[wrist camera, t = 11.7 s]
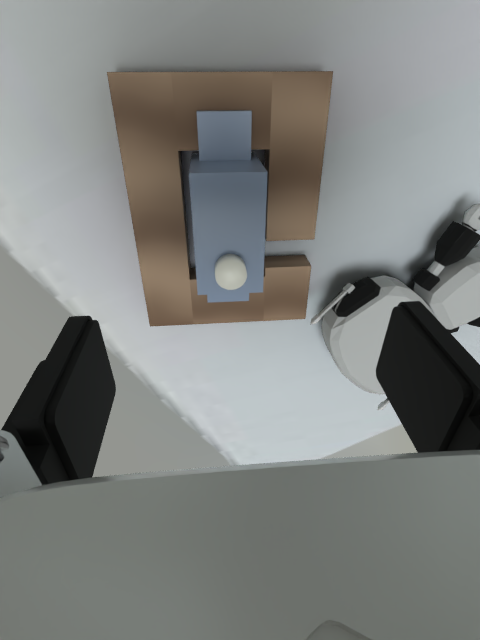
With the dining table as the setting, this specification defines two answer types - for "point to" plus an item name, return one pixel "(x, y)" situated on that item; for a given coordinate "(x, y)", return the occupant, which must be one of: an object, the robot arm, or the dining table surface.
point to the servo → (227, 207)
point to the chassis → (168, 191)
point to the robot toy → (387, 292)
